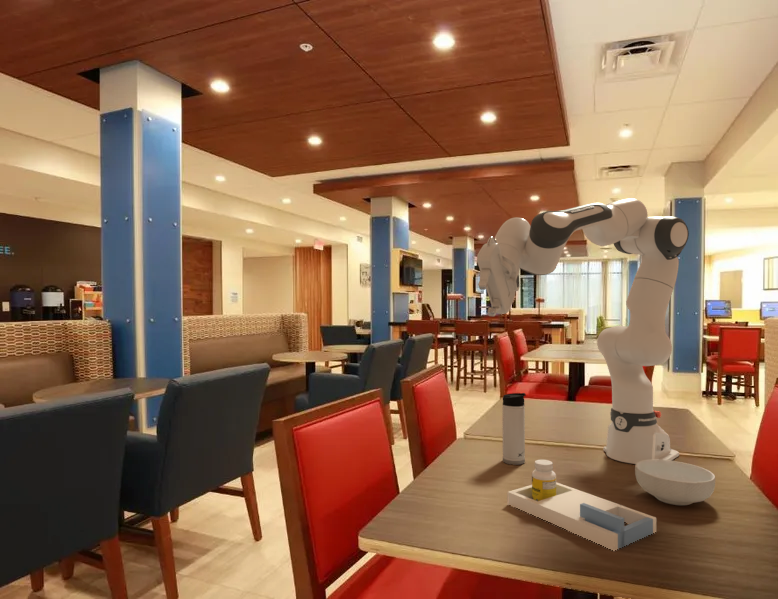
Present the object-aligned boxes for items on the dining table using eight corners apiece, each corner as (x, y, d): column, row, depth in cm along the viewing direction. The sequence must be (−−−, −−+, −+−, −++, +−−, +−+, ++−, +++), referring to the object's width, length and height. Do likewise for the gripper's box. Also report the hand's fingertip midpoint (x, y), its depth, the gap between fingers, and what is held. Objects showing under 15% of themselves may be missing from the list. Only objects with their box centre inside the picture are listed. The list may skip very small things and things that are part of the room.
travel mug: (526, 465, 149) (526, 395, 149) (502, 464, 150) (502, 394, 150) (525, 459, 155) (525, 391, 155) (502, 457, 157) (502, 390, 157)
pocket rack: (549, 491, 129) (549, 469, 129) (656, 532, 106) (656, 505, 106) (507, 504, 121) (507, 480, 121) (614, 551, 98) (613, 522, 98)
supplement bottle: (528, 500, 124) (528, 458, 124) (550, 499, 124) (550, 458, 124) (536, 509, 118) (536, 466, 118) (560, 508, 119) (560, 465, 119)
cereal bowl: (715, 519, 113) (715, 486, 113) (630, 504, 121) (630, 473, 121) (715, 494, 127) (715, 465, 127) (639, 482, 136) (639, 454, 136)
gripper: (504, 232, 130) (488, 270, 122) (521, 291, 142) (507, 329, 134) (480, 233, 133) (463, 270, 125) (498, 290, 146) (484, 327, 138)
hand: (486, 301), depth 130 cm, fingers open, 8 cm apart
